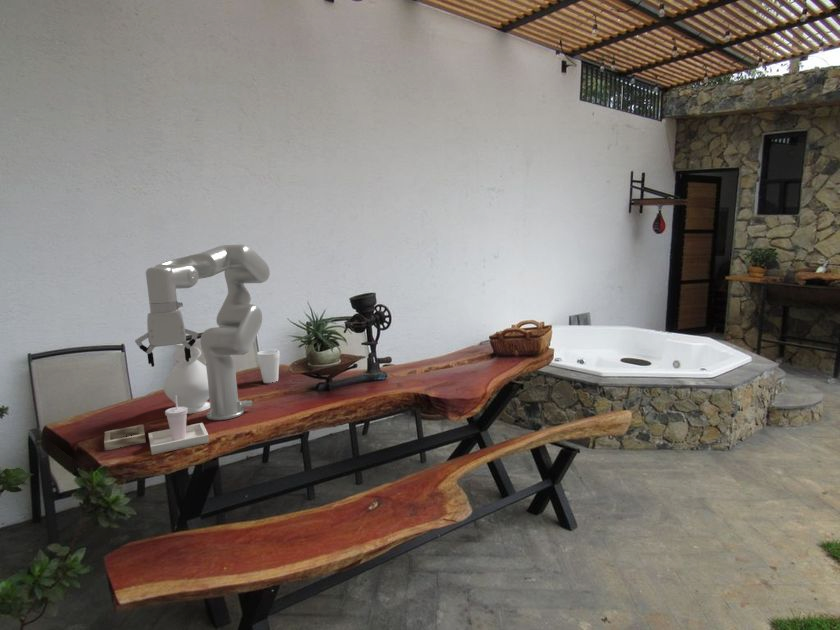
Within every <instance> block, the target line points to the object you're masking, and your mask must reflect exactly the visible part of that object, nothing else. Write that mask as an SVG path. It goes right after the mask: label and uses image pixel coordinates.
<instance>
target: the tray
mask: <svg viewBox="0 0 840 630" xmlns="http://www.w3.org/2000/svg"><path fill="white" fill-rule="evenodd" d="M147 434H148V441H149V447H150V453H151V455H152V456H153V455H157V454H158V455H159V454H162V453H166V452H170V451H175V450H180V449H186V448H190V447H194V446H199V445H200V446H201V445H203V444H209V443H210V437H209V433H208V430H207V429H206V427H205V424H204V423H203V422H199V423H194V424H193V423H192V424H190V425H186V438H185V439H181V440H176V441H173V440H172V436H171V431H170V428H168V429H161V430H158V431H157V430H156V431H153V432H148V433H147Z"/></svg>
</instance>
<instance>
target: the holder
mask: <svg viewBox="0 0 840 630" xmlns="http://www.w3.org/2000/svg"><path fill="white" fill-rule="evenodd" d="M131 435H132V436H131ZM103 436H104V439H103V442H104V443H103V444H104V451H110V450H115V449H119V448H120V447H121V448H124V447H125V446H126V447H130V445H131V446H135V445H139V444H140V445H141V444H145V443H146V442H147V441H146V433H145V426H144V424H137V425H134V426H127V427H123V428H116V429H112V430H106V431H104V435H103ZM126 436H127V437H126Z"/></svg>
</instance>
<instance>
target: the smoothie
mask: <svg viewBox="0 0 840 630" xmlns="http://www.w3.org/2000/svg"><path fill="white" fill-rule="evenodd" d="M175 403H176V404H175ZM175 403H174V404H175V406H174V407H170V408H168V409H166V410H165V411H164V415H165V416H166V418H167V422H168V427H169V429H170V431H171V436H172V440H173V441H176V440H181V439H185V438H186V426H187V419H188V418H187V416H188V414H187V412H188V410H187V408H186V407H178V404H177V396H175Z"/></svg>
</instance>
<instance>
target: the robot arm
mask: <svg viewBox="0 0 840 630" xmlns="http://www.w3.org/2000/svg"><path fill="white" fill-rule="evenodd" d="M222 272H224V274H223V275H224V278H225V283H226V286H227V294H226V297H225V299H224V301H223V303H222V306H221V307H220V309H219V311H218V313H217V316H216V320H215V321H216V325H217V326H218V327H210V328H207V329H205V330H204V332H202V334H201V336H200V346H201V352H202V353H203V356H204V361H205V366H206V369H207V379H208V389H209V399H208V400H209V403H210V408H209V409H210V410H208V412H207V413H206V419H208V420H210V421H223V420H224V421H225V420H230V419H235V418H237V417H240V416H242V415H243V414H244V413H245V412H244V410H245V409H244V408H245V407H250V406H251V407H252V406H253V401H252V400H247V399H245V400H240V399H239V394H238V384H237V383H238V382H237V372H236V370H237V369H236V365H235V361H234V359H233V357H232V356H243V355H246V354H247V353H248V352H250V350H251V349H252V346H253V345H254V342H255V340H256V337H257V335H258V334H259V331H260V329H261V325H262V322H263V313H262V310H261V308H260V307H258V305H256V304H253V303H251V299H252V298H251V294H250V292H249V291H248V289H247V288H246V285H245V284H263V283H266V281H268V279H269V277H270V274H271V271H270V268H269V264H268V263H267V262H266V261H265V260H264V259H263V257H262V256H260V255H259V254H258V253H257V252H256V251H255V250H254V249H252V248H251V247H250V246H248V245H245V244H225V245H224V244H223V245H218V246H217V247H214V248H213V247H212V248H210V249H208V250H205V251H202V252H200V253H196V254H191V255H187V256H183V257H178V258H174V259H169V260H167V261H164V262H161V263H159V264H158V263H157V264H156V265H155V266H153V267H152V266H151V267H149V268H147V269H146V271H145V277H146V286H147V293H148V302H149V303H148V304H149V312H150V313H149V312H148V313H147V316H146V317H147V321H146V323H147V324H146V325H147V332H146V333H144V334H143V335H141V336H140V337H138V338H136V339H135V340H134V341H135V344H136V345H137V346H138V348H139V349H140V350H141V351H143V352H144V353H146V354H147V361H148V365H150V366H151V367H155V360H154V359H155V358H154V353H153V350H154V349H156V348H157V347H158V348H159V347H167V346H173V345H174V346H175V344H181V343H182V344H183V345H184V346H185V348H184V351H185V360H186V361H187V362H189V358H191V354H190V348H191V346H192V345H193V344H194V343H195V341H196V340H197V339H198V336H199V333H198V332H196V331H194V330H190V329H187V328H186V327H185V322H184V319H183V314H182V311H181V310H179V308H182V307H184V305H183V302H179V301H178V296H177V289H179V290H180V289H190V288H192V287H194V286H195V285H197V283H198V281H199V280H200V279H202V280H203V279H206V278H211V277H213V276H216V275H218V274H220V273H222ZM187 335H190V336H191V339H189V340H188V341H189V342H186V341H187ZM147 339H148V343H149V345H148V346H145V345H144V344H143V342H144V341H145V340H147Z"/></svg>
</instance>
